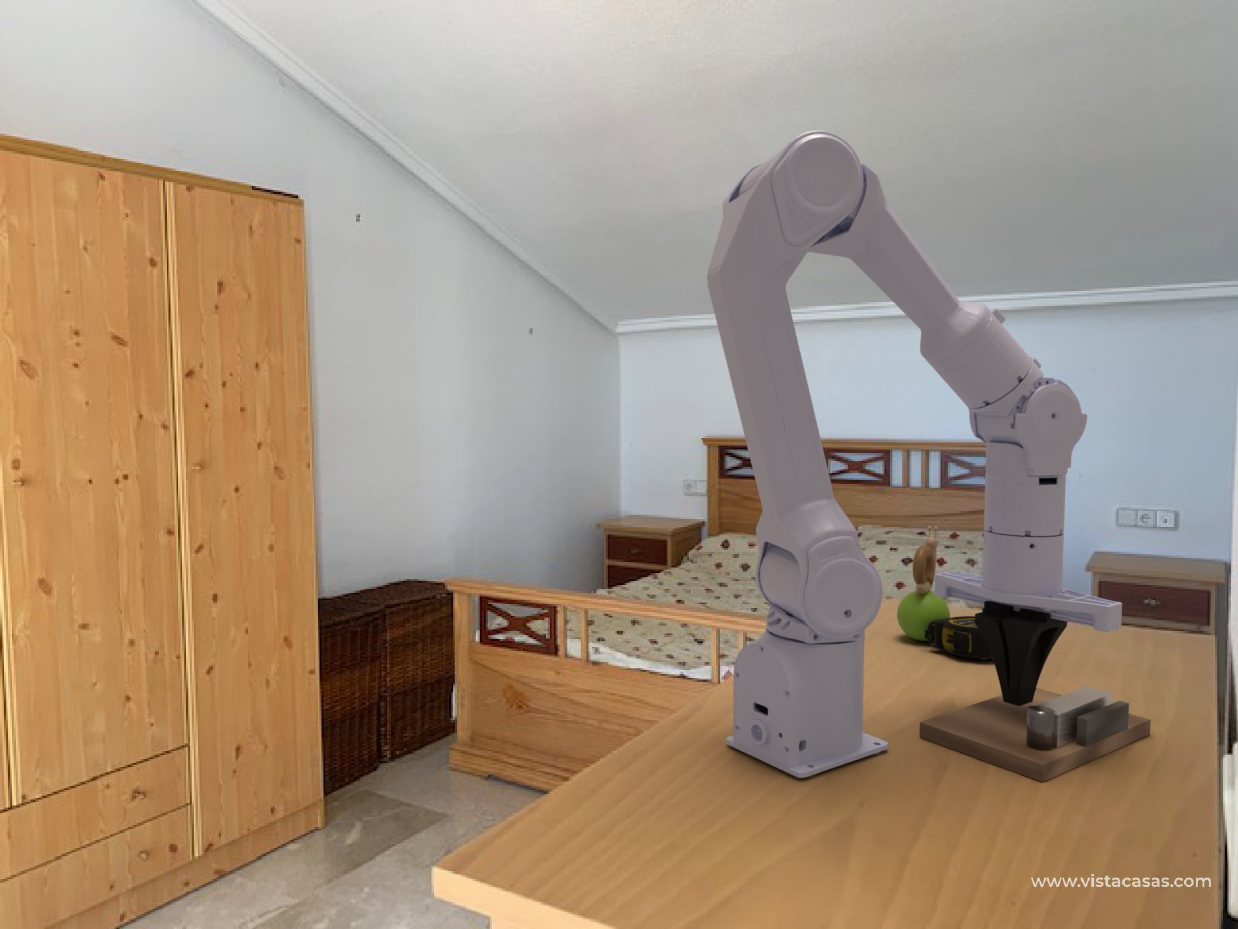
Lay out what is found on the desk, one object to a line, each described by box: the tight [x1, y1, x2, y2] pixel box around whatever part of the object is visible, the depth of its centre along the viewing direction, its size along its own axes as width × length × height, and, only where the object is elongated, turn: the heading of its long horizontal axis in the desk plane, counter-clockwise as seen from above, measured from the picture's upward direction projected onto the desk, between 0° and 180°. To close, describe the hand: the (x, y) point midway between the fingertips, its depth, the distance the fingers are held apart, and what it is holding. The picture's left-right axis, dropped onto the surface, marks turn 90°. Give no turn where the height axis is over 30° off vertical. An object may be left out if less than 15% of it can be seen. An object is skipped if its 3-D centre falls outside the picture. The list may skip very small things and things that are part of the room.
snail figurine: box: [896, 525, 951, 642], centre depth 97 cm, size 5×6×12 cm
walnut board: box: [919, 687, 1152, 783], centre depth 70 cm, size 15×10×3 cm, turn 125°
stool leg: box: [1026, 685, 1113, 750], centre depth 67 cm, size 9×2×3 cm, turn 126°
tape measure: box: [924, 615, 992, 660], centre depth 92 cm, size 7×7×4 cm
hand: (1018, 701), depth 71 cm, fingers closed
